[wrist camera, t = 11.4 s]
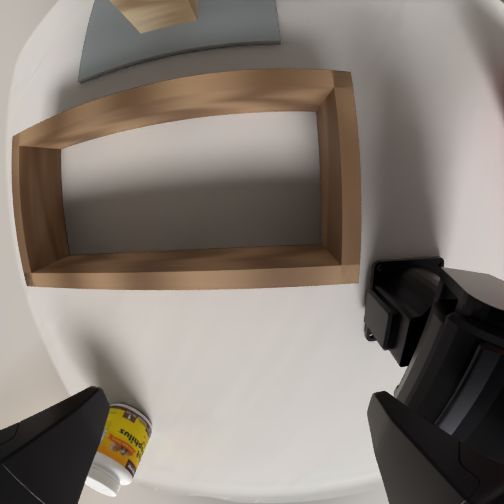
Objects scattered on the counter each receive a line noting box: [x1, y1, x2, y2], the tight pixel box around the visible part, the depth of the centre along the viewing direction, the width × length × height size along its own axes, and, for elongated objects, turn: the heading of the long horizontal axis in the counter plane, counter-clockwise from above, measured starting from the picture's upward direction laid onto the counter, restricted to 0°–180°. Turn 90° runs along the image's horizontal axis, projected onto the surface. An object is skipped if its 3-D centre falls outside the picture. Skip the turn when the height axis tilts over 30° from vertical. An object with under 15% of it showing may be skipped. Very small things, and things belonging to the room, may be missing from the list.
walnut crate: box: [12, 69, 361, 290], centre depth 15 cm, size 22×11×5 cm, turn 93°
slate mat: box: [78, 0, 280, 83], centre depth 14 cm, size 16×10×1 cm, turn 93°
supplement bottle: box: [85, 403, 152, 496], centre depth 19 cm, size 6×6×10 cm
